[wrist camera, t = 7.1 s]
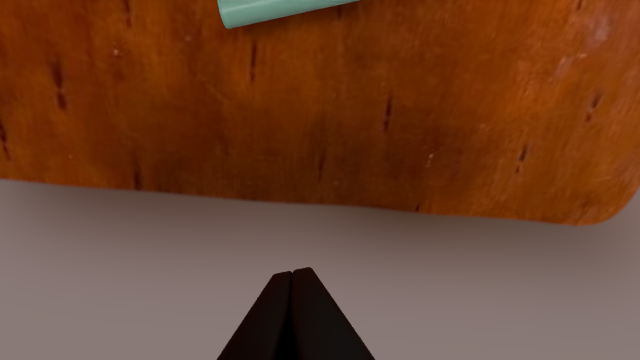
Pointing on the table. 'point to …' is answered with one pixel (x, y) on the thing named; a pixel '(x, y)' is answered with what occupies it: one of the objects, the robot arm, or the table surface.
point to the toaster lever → (267, 9)
